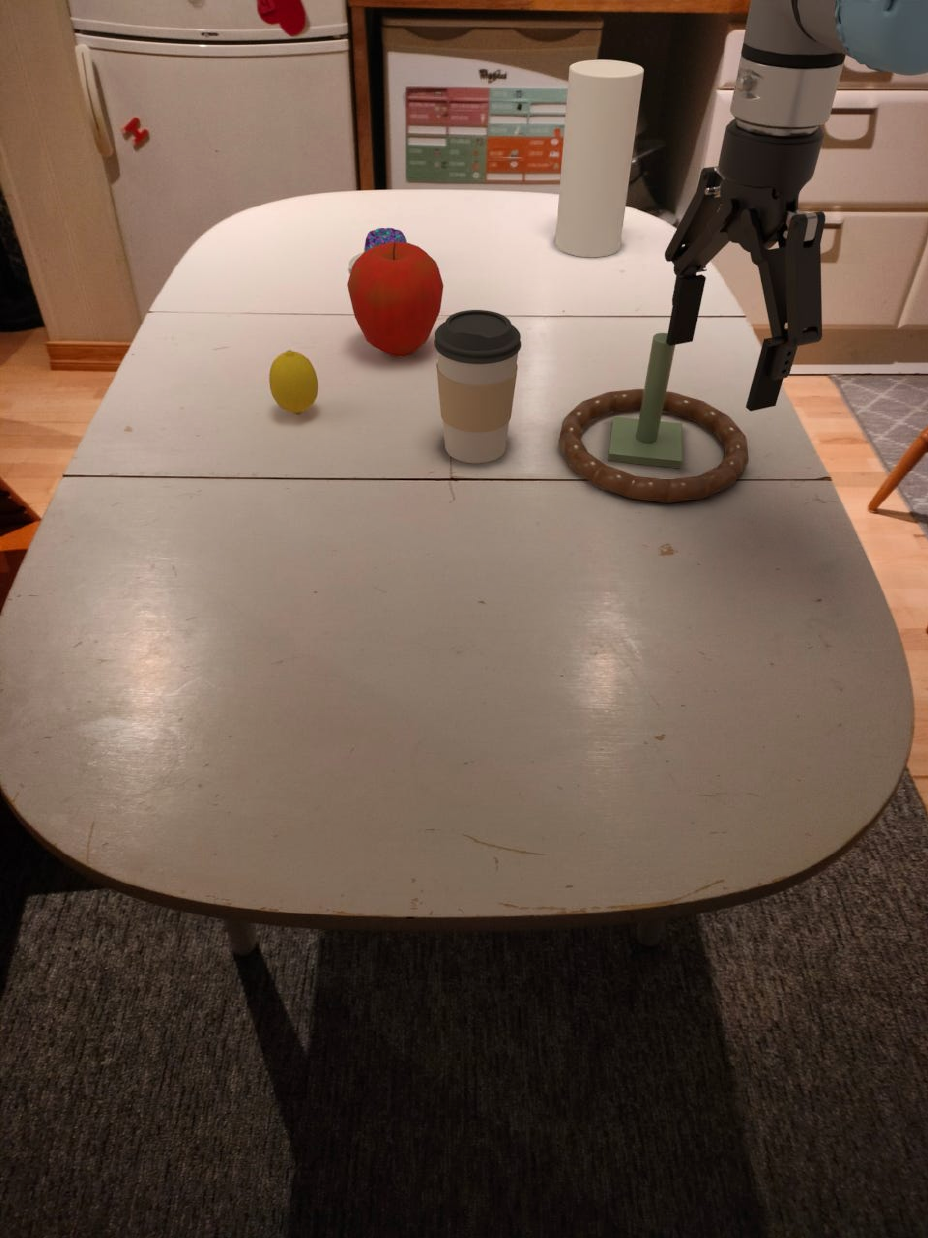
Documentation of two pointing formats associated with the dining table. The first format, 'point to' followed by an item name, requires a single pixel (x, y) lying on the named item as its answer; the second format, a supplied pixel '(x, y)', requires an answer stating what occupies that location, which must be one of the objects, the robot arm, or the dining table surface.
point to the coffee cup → (476, 382)
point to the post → (650, 419)
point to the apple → (395, 296)
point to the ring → (651, 486)
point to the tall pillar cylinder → (597, 155)
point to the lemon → (293, 382)
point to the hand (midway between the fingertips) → (717, 372)
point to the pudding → (380, 240)
